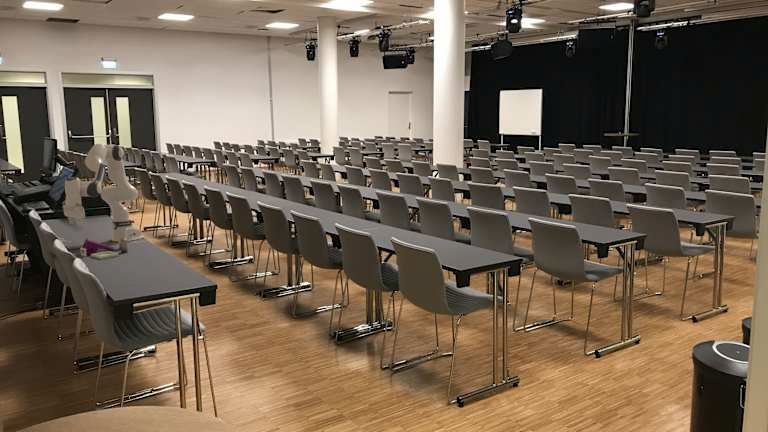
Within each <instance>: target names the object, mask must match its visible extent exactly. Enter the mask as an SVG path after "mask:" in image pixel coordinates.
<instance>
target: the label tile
mask: <svg viewBox="0 0 768 432" xmlns="http://www.w3.org/2000/svg"><path fill="white" fill-rule="evenodd" d="M87 255H88V254H86V249H85V248H83V247H80V256H82V257H87Z"/></svg>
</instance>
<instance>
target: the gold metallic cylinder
mask: <svg viewBox="0 0 768 432" xmlns="http://www.w3.org/2000/svg"><path fill="white" fill-rule="evenodd" d="M120 239H126V238H119V241H118V249H119V250H121V245H120Z"/></svg>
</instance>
